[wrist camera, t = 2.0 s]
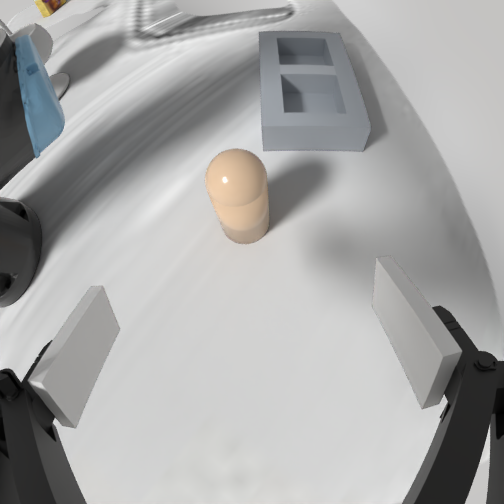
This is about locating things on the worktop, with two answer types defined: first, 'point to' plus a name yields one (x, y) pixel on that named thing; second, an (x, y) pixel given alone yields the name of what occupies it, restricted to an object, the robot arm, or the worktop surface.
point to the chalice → (44, 52)
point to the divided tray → (309, 93)
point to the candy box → (48, 6)
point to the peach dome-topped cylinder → (239, 194)
